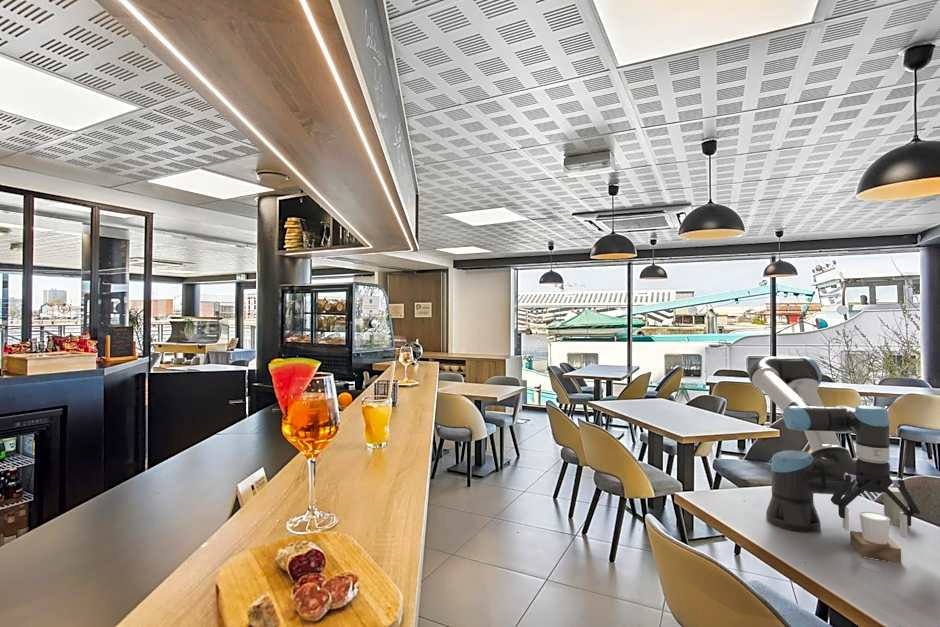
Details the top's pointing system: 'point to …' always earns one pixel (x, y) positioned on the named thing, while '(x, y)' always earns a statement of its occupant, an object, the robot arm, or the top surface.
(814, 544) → the top surface
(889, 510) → the box
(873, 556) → the walnut block
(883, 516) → the white cylinder
